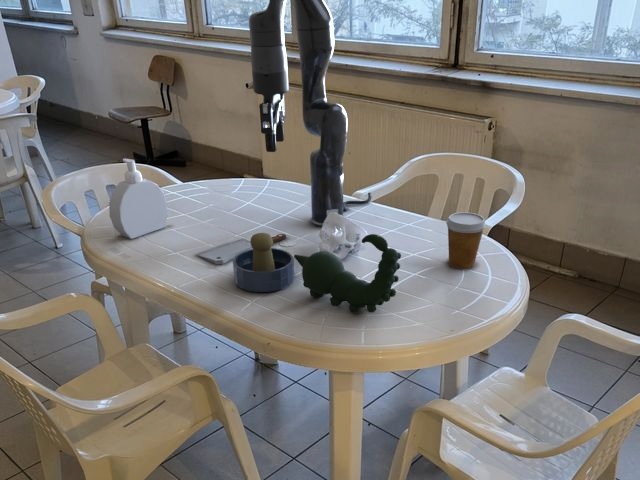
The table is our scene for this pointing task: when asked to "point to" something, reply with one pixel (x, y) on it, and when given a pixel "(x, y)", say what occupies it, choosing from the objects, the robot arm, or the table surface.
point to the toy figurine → (351, 277)
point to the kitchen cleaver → (232, 250)
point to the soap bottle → (137, 205)
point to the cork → (262, 252)
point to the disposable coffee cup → (464, 238)
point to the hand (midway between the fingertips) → (275, 146)
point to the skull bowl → (340, 235)
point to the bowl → (264, 272)
